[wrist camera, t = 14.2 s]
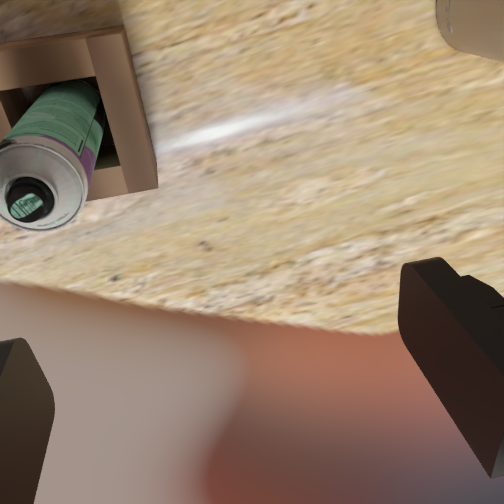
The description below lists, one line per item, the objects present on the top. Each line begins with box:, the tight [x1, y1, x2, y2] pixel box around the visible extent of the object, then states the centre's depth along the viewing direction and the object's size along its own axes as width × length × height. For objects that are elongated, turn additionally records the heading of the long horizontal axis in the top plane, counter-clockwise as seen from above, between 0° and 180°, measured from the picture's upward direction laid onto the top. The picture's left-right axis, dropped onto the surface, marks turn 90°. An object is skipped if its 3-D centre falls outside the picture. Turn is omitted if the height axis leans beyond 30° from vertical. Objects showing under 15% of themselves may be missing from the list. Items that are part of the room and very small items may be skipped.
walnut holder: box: [0, 25, 158, 202], centre depth 38 cm, size 12×12×6 cm
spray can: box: [0, 79, 107, 232], centre depth 32 cm, size 6×6×20 cm
